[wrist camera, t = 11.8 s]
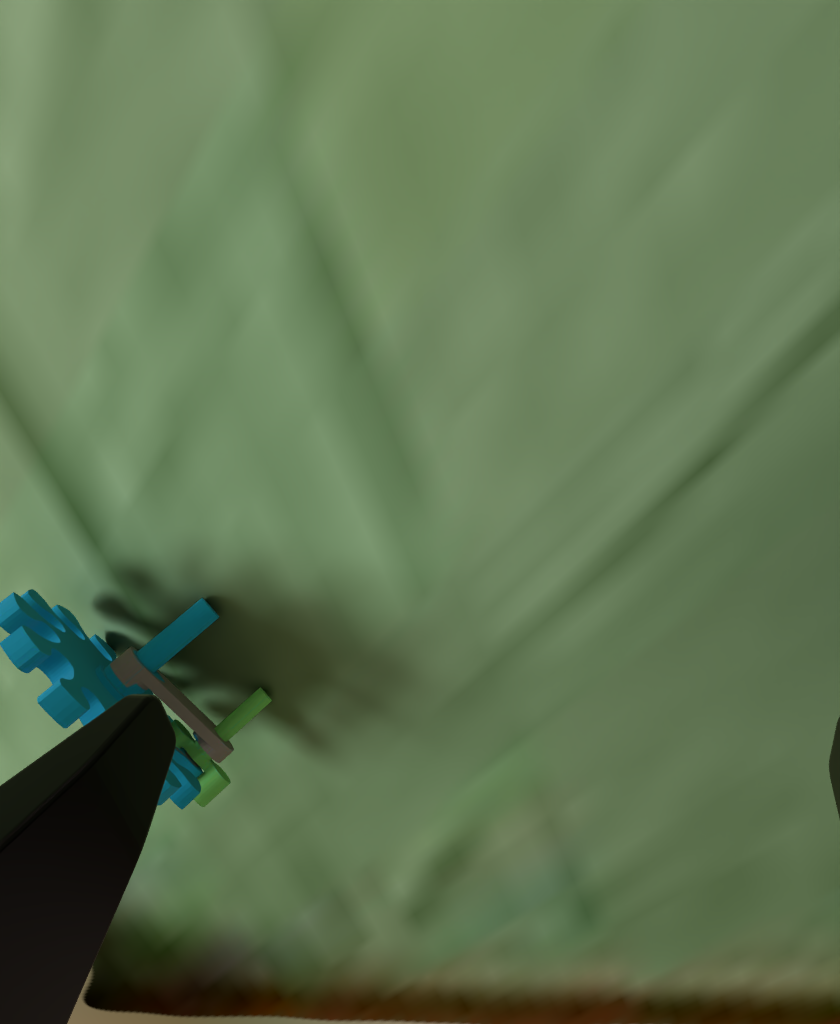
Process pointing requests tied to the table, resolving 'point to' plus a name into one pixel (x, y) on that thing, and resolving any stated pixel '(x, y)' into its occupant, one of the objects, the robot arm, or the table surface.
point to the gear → (124, 685)
